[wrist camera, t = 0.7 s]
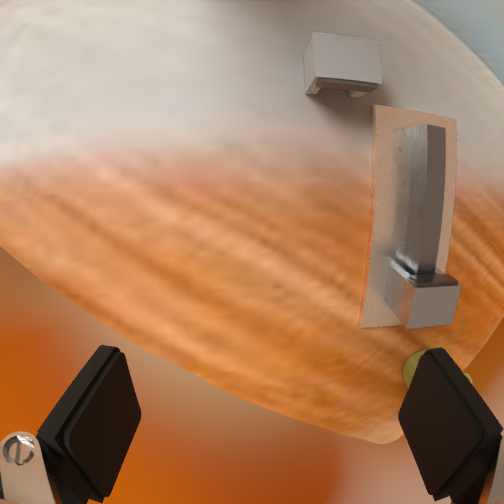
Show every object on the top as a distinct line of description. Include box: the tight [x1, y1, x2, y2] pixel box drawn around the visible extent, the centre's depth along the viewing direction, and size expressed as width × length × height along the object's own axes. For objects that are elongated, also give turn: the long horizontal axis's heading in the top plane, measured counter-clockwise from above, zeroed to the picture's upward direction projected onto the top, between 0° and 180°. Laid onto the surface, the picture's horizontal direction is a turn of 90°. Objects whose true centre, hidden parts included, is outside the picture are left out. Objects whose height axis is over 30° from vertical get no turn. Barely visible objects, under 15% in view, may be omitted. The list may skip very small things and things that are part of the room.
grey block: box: [303, 32, 382, 98], centre depth 25 cm, size 5×6×7 cm
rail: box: [359, 104, 461, 329], centre depth 28 cm, size 26×11×8 cm, turn 1°
